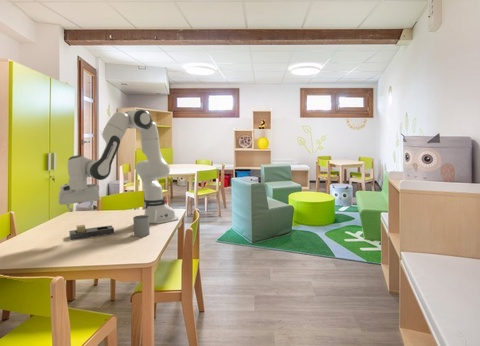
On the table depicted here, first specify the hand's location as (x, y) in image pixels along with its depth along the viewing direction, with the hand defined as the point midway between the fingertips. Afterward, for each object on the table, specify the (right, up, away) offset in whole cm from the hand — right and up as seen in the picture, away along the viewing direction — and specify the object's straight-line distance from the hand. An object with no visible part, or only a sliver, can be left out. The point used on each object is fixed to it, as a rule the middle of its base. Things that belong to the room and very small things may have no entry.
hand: (80, 210), depth 186 cm
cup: (+32, -14, +4) cm, 36 cm away
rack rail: (+5, -14, +4) cm, 15 cm away
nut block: (0, -15, +1) cm, 15 cm away
